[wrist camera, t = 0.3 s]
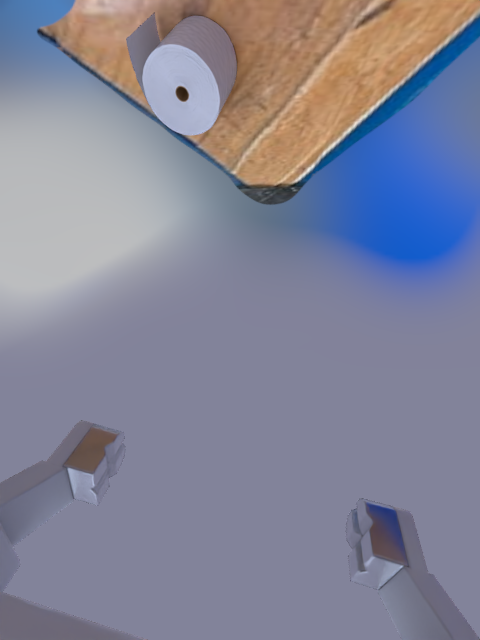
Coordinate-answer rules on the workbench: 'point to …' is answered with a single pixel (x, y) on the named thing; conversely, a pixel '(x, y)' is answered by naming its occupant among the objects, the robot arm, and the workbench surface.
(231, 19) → the workbench surface
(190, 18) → the toilet tissue
